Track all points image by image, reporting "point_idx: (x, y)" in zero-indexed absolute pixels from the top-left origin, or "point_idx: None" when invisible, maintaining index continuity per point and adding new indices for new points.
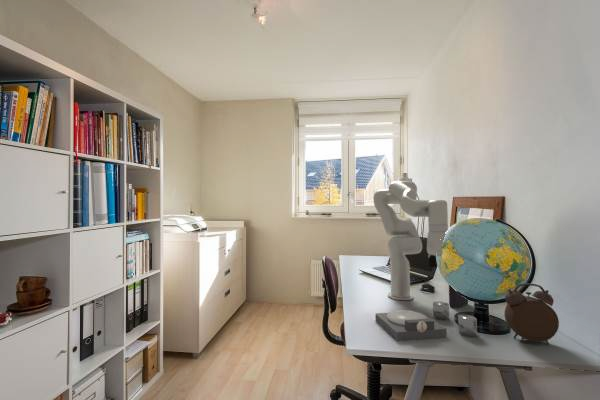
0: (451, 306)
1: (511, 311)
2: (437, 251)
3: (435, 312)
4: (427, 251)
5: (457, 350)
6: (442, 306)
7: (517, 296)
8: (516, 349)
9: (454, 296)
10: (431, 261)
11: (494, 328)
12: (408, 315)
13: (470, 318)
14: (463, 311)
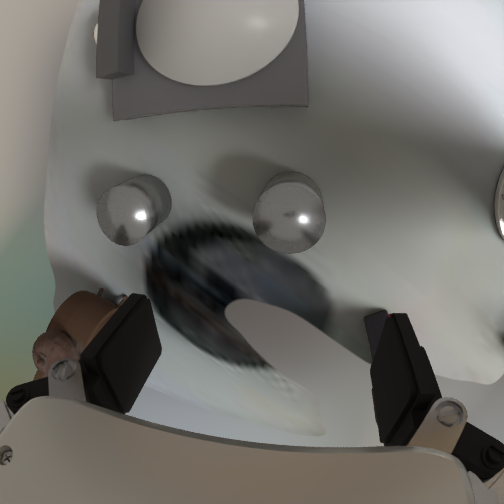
0: (380, 312)
1: (61, 317)
2: (29, 457)
3: (283, 177)
4: (445, 477)
5: (68, 112)
6: (255, 206)
7: (32, 352)
8: (78, 252)
9: (374, 344)
10: (396, 376)
11: (183, 302)
12: (221, 20)
13: (112, 222)
14: (331, 320)
